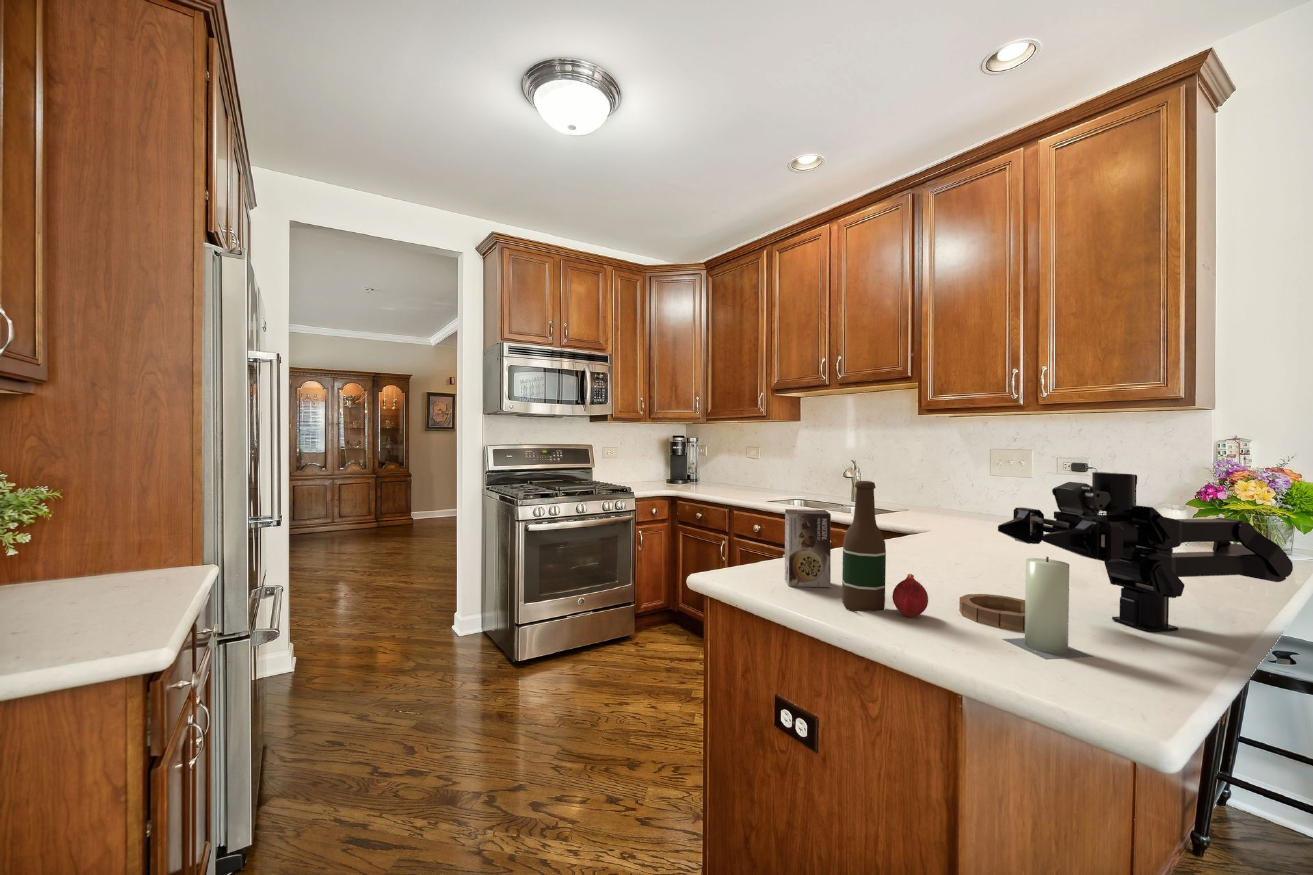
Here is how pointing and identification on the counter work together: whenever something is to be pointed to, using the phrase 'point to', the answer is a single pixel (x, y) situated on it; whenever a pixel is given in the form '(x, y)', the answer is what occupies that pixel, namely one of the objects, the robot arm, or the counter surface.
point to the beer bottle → (864, 556)
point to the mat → (1071, 653)
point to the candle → (1047, 605)
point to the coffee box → (807, 548)
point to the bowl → (994, 610)
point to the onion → (910, 597)
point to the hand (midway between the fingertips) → (1019, 533)
